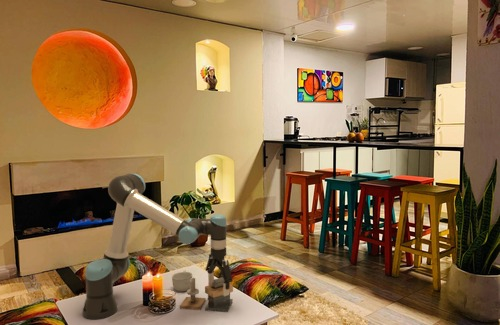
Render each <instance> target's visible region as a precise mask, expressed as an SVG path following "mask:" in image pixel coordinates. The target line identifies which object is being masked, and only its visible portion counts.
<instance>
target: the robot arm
mask: <svg viewBox="0 0 500 325" xmlns="http://www.w3.org/2000/svg"><path fill="white" fill-rule="evenodd" d="M145 190H146V182H145V180H144V178H143V177H142V176H141V175H140V174H137V173H125V174H123V175H118V176H115V177H114V178H113V179H111V180H110V182H109V183H108V187H107V192H108V195H109V197H110V198H111V200H113V201H114V202H115V203H116V208H115V212H114V216H113V222H112V228H111V233H110V234H111V235H110V238H109V244H108V248H107V249H106V250H105V251H104V252H103V256H102V258H100V259H96V260H93V261H91V262H89V263H88V264H87V265H86V266H85V273H84V276H85V293H86V294H85V296H86V298H85V302H84V305H83V307H82V316H83V318H85V319H88V320H101V319H105V318H109V317H111V316H113V315H115V314H116V313H117V311H118V303H117V300H116V298H115V295H114V287H113V286H114V284H113V283H115V282H116V281H118V280H119V279H121V278H122V277H123V276H125V275H126V273H127V272H128V271H129V269H130V266H131V262H130V258H129V252H128V251H127V249H128V245H129V244H128V243H129V238H130V233H131V228H132V224H133V218H134V214H135V212H136V213H138V214H140V215H142V216H143V217H145V218H147V219H148V220H150V221H152V222H154V223H155V224H157V225H159V226H160V227H162V228H164V229H165V230H167V231H169V232H170V233H172V234H174V236H175V235H176V236H177V237H178V239H179V241H180V243H181V244H184V245H190V244H192V243H194V242H196V240H197V239H198V238H199V237H201V236H203V235H204V236H210V253H209V254H208V258H207V259H208V260H207V262H206V263H207V264H206V267H205V272H207V274H208V275H207V276H208V285H207V286H209V285H212V283H213V282H214V279H215V273H214V272H215V269H216V268H218V270H219V271H220V274H221V276H222V278H223V279H224V281H225V282H223V283H224V296H227V295H229V288H230V284H231V283H232V282H233V277H232V272H231V270H230V263H229V260H228V259H226V260H225V257H226V256H227V218H226V216H225V215H224V214H219V213H218V214H212V215H210V218H195V217H193V218H187V219H186V220H185V219H184V218H182V217H180V216H179V215H177V214H175V213H174V212H172V211H170V210H168V209H166V208H165V207H163V206H162V205H160V204H158V203H157V202H155V201H153V200H152V199H149V198H148V197H147V196H144V195H143V194H144V192H145Z"/></svg>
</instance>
